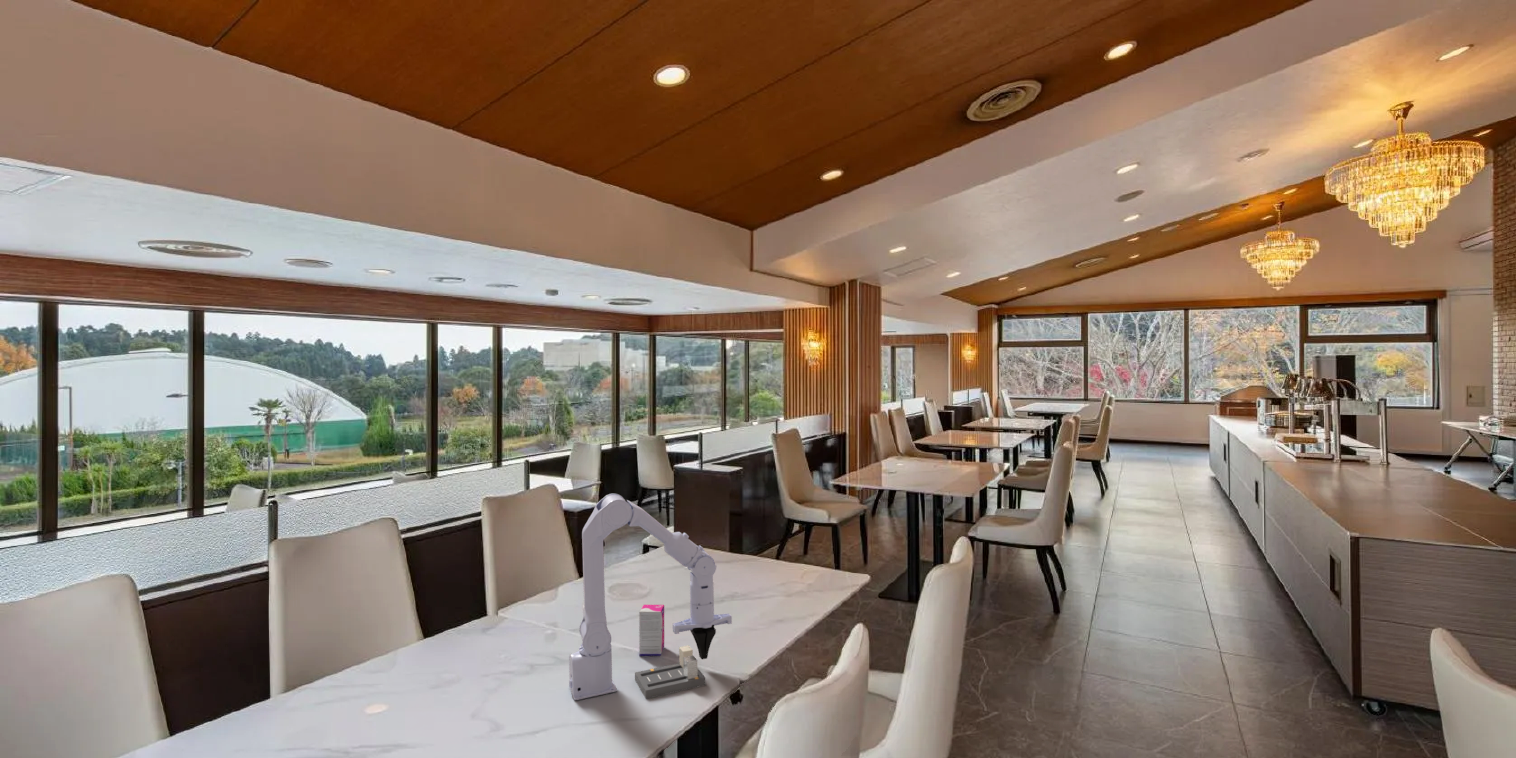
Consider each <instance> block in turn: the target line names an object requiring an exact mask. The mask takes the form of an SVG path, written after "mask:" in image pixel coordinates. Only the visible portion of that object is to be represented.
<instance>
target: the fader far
mask: <svg viewBox="0 0 1516 758" xmlns="http://www.w3.org/2000/svg"><path fill="white" fill-rule="evenodd" d="M693 654H694V651H693V648H691V646H690V645H683V646H680V647H679V646H678V656H679V657H678V658H679V663H680V665H681V666H682V668H683V669H684V666H683V657H687V656H692V655H693ZM693 656H694V655H693Z"/></svg>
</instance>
